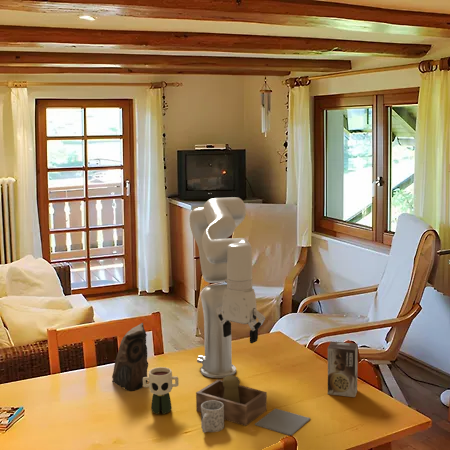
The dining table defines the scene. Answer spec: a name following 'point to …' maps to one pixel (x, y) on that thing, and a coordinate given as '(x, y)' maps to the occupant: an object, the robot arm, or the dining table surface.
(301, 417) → the grey mat
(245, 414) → the walnut box
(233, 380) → the cork
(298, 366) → the dining table surface
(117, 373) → the owl
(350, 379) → the coffee box
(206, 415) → the mug
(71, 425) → the dining table surface
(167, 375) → the character mug
